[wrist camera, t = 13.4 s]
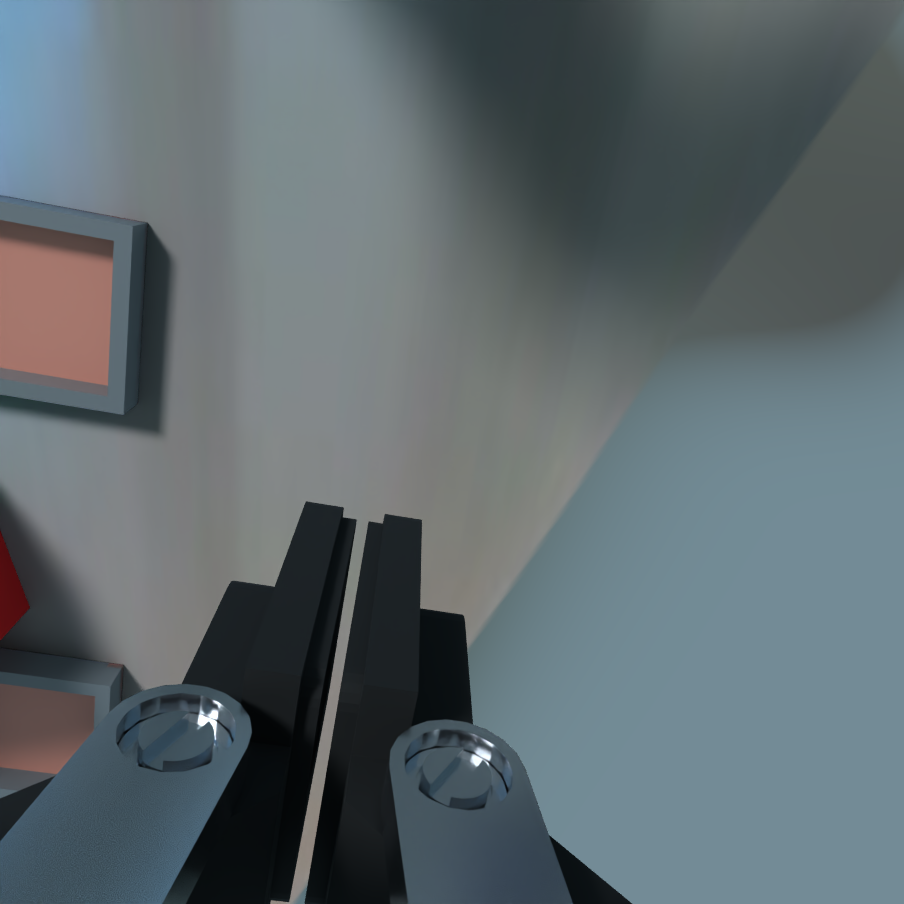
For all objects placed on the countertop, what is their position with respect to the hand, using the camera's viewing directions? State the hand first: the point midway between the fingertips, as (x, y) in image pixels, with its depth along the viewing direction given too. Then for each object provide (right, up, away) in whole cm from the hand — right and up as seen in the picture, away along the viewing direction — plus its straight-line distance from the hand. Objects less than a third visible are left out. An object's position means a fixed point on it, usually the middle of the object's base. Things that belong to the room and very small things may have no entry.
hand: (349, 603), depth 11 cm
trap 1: (-23, -13, +35) cm, 44 cm away
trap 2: (-18, +10, +27) cm, 34 cm away
